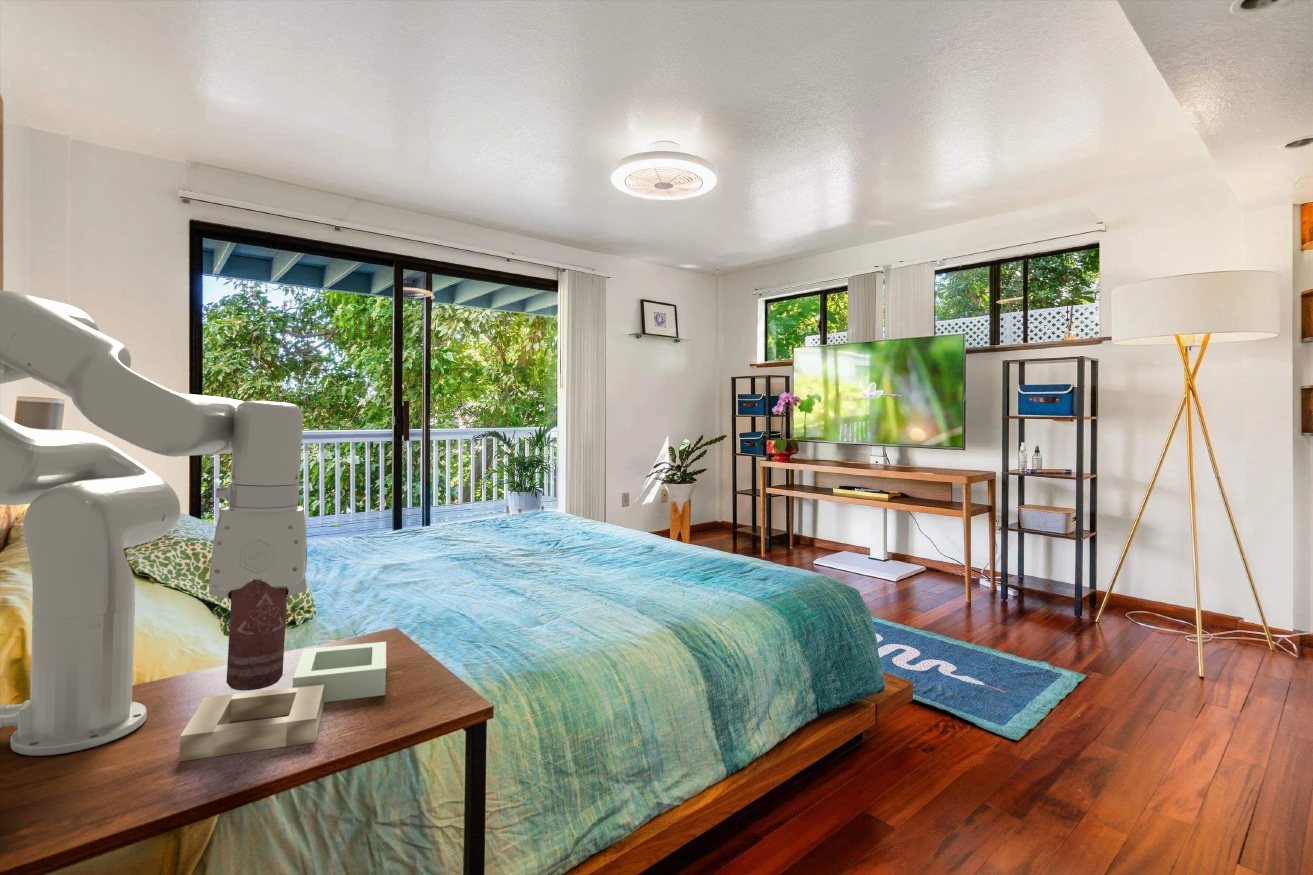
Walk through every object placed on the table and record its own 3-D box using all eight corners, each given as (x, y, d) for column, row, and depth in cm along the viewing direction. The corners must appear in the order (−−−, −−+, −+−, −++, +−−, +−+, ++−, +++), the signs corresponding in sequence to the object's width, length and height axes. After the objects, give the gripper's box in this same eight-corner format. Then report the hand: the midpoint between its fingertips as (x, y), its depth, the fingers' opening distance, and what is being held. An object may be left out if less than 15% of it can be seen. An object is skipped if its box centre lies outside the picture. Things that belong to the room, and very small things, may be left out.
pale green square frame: (292, 706, 88) (293, 677, 88) (302, 674, 99) (303, 648, 99) (385, 694, 93) (386, 668, 93) (385, 665, 104) (386, 641, 104)
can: (294, 674, 83) (300, 569, 83) (259, 693, 77) (266, 580, 77) (252, 669, 84) (258, 565, 84) (214, 688, 78) (220, 576, 78)
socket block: (179, 761, 73) (180, 735, 73) (204, 719, 83) (205, 697, 83) (315, 742, 78) (316, 718, 78) (323, 705, 88) (324, 684, 88)
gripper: (185, 500, 74) (177, 654, 74) (327, 501, 80) (319, 644, 80) (202, 493, 81) (194, 634, 81) (332, 495, 87) (324, 626, 87)
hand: (256, 639), depth 80 cm, fingers closed
